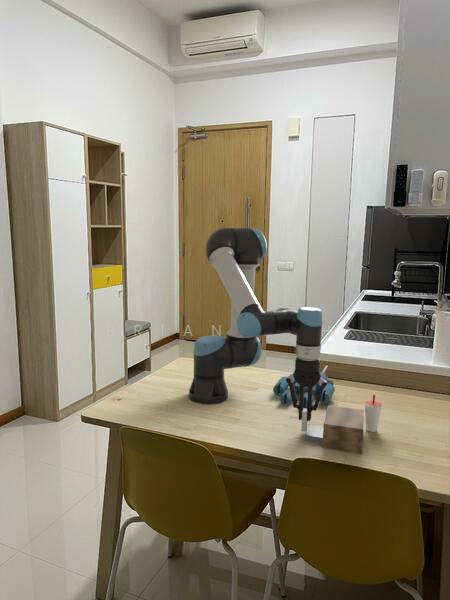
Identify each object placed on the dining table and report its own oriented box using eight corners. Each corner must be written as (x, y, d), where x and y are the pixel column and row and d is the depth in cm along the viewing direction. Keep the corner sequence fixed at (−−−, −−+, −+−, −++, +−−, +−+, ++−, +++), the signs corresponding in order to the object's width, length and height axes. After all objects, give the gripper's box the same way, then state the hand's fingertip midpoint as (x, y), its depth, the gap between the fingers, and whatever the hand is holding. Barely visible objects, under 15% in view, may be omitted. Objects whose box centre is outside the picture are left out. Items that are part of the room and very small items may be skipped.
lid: (303, 442, 139) (304, 434, 138) (307, 432, 146) (308, 424, 146) (347, 449, 135) (348, 441, 134) (349, 438, 142) (349, 431, 142)
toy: (266, 386, 169) (291, 357, 195) (267, 407, 172) (291, 376, 197) (325, 396, 160) (343, 364, 185) (324, 419, 162) (342, 384, 188)
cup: (376, 426, 151) (378, 391, 149) (382, 433, 145) (385, 397, 144) (360, 426, 150) (362, 391, 149) (366, 433, 145) (368, 397, 143)
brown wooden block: (322, 447, 135) (323, 423, 134) (327, 427, 149) (328, 405, 148) (361, 453, 131) (363, 429, 130) (362, 432, 146) (363, 410, 145)
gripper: (284, 358, 139) (281, 431, 142) (328, 362, 135) (323, 437, 138) (288, 352, 146) (286, 422, 149) (330, 356, 142) (326, 427, 145)
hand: (304, 429), depth 144 cm, fingers closed
